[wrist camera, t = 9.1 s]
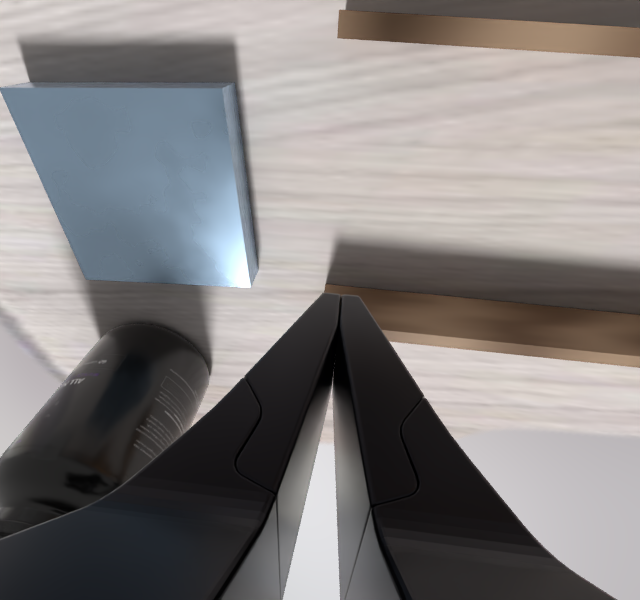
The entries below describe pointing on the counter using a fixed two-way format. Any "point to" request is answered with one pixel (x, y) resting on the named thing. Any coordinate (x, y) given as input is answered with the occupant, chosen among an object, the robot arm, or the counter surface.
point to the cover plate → (143, 177)
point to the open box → (487, 315)
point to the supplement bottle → (102, 424)
